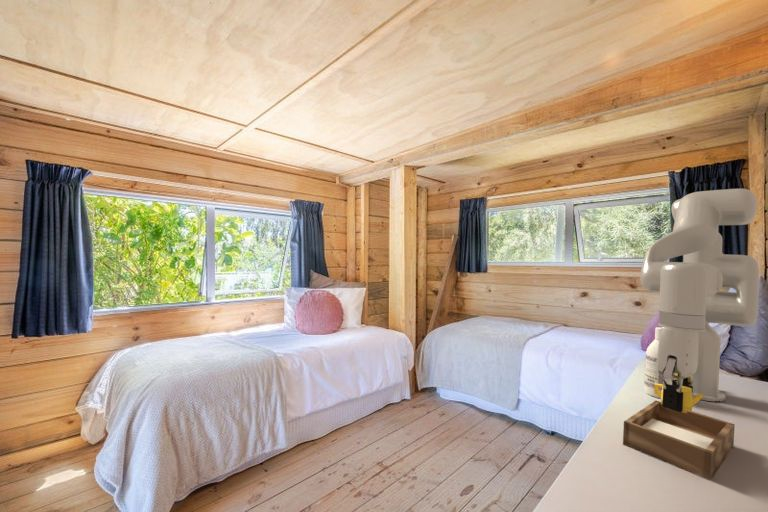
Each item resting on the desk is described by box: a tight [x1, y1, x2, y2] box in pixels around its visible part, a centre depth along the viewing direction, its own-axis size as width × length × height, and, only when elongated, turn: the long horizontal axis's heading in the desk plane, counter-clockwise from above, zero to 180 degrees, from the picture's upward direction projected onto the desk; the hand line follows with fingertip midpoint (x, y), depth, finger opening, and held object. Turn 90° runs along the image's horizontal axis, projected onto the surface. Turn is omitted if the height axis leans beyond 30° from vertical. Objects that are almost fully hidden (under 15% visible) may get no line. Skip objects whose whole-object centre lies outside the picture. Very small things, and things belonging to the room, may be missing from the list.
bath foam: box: [643, 326, 675, 399], centre depth 103 cm, size 7×7×20 cm
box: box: [622, 400, 735, 481], centre depth 75 cm, size 20×14×5 cm
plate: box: [643, 419, 714, 449], centre depth 74 cm, size 9×11×2 cm
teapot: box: [654, 383, 704, 413], centre depth 73 cm, size 8×6×5 cm
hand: (677, 404), depth 73 cm, fingers closed on teapot, 6 cm apart
